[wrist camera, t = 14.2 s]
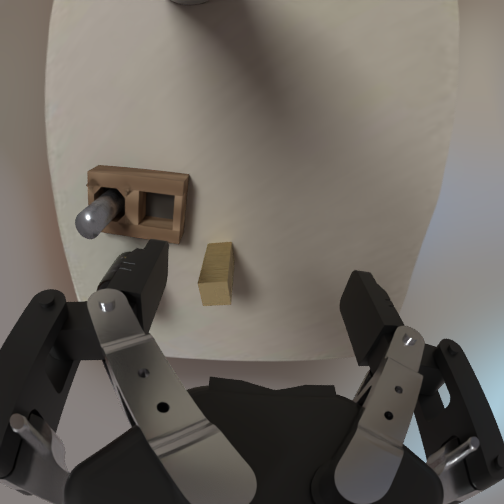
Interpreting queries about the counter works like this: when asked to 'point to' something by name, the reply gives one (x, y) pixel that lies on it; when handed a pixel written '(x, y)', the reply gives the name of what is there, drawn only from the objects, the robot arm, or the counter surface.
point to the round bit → (99, 213)
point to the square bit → (217, 274)
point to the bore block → (143, 201)
